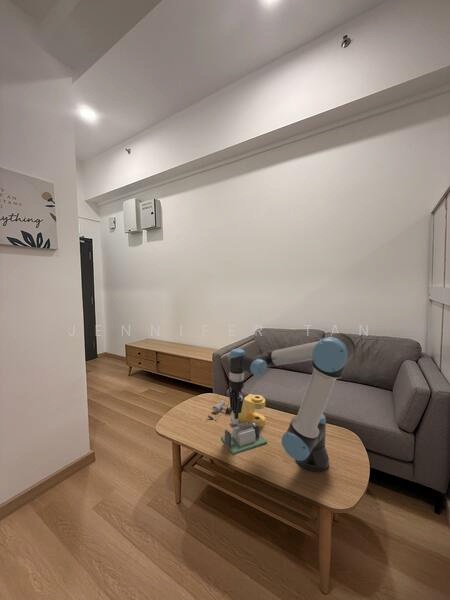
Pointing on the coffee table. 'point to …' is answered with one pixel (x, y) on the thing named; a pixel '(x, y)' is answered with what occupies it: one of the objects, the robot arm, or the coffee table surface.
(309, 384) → the robot arm
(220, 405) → the clip-on lamp
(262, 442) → the heatsink base
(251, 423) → the strap
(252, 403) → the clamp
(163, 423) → the coffee table surface
